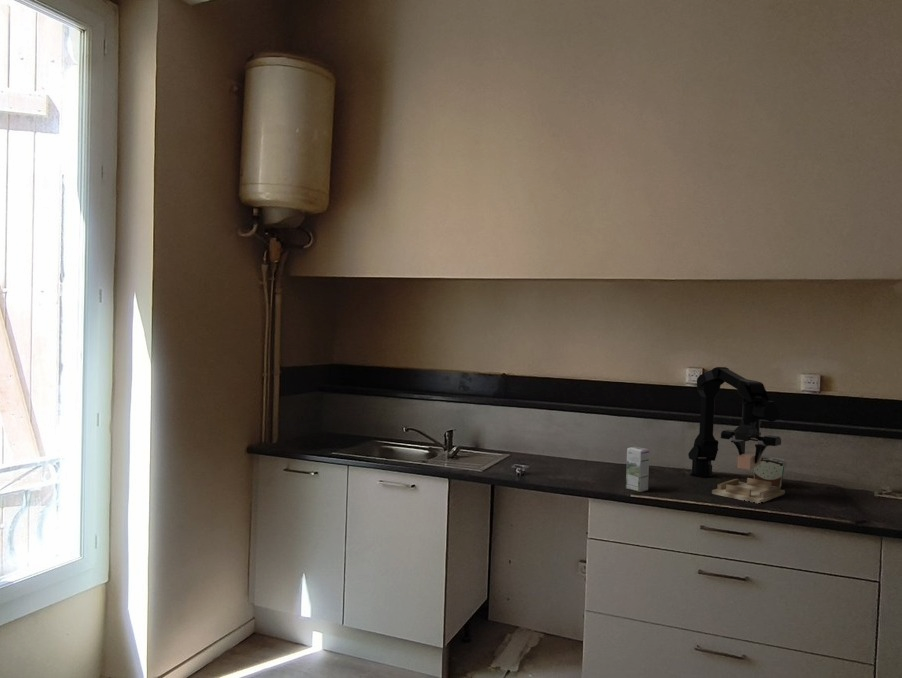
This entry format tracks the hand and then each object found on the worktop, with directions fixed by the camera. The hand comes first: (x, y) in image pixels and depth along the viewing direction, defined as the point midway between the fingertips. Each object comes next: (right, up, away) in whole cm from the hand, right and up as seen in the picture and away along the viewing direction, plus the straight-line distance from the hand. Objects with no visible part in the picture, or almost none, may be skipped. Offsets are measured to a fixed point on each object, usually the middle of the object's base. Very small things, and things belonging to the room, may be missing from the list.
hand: (749, 462), depth 228 cm
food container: (+15, -12, +16) cm, 25 cm away
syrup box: (-39, -10, +1) cm, 40 cm away
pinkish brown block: (0, -1, 0) cm, 1 cm away
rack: (0, -11, 0) cm, 11 cm away
